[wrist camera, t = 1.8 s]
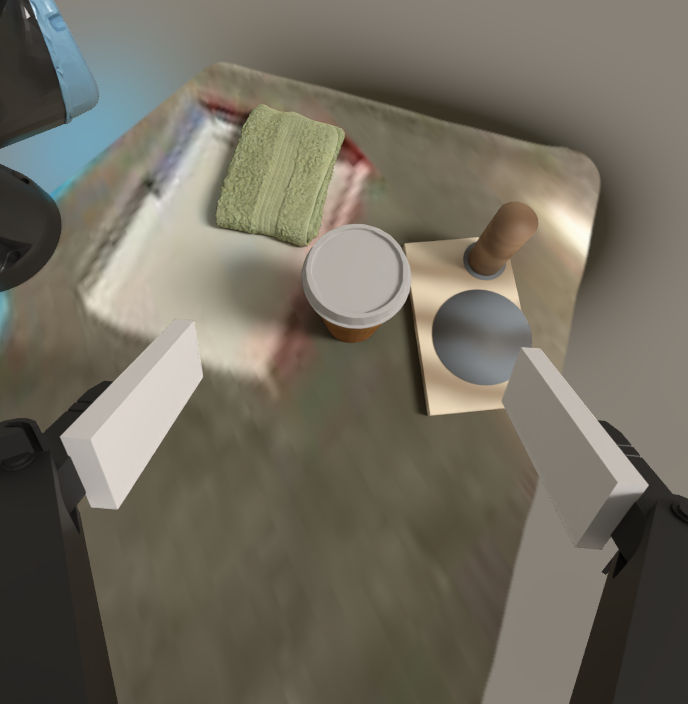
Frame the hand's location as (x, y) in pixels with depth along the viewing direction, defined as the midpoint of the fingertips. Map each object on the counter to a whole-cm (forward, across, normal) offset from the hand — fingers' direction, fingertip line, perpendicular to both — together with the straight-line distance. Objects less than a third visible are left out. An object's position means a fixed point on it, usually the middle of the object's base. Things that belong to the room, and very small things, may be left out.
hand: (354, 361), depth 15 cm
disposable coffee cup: (+26, 0, -10) cm, 28 cm away
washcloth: (+38, -10, +2) cm, 40 cm away
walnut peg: (+30, +15, -4) cm, 34 cm away
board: (+26, +13, -10) cm, 31 cm away
